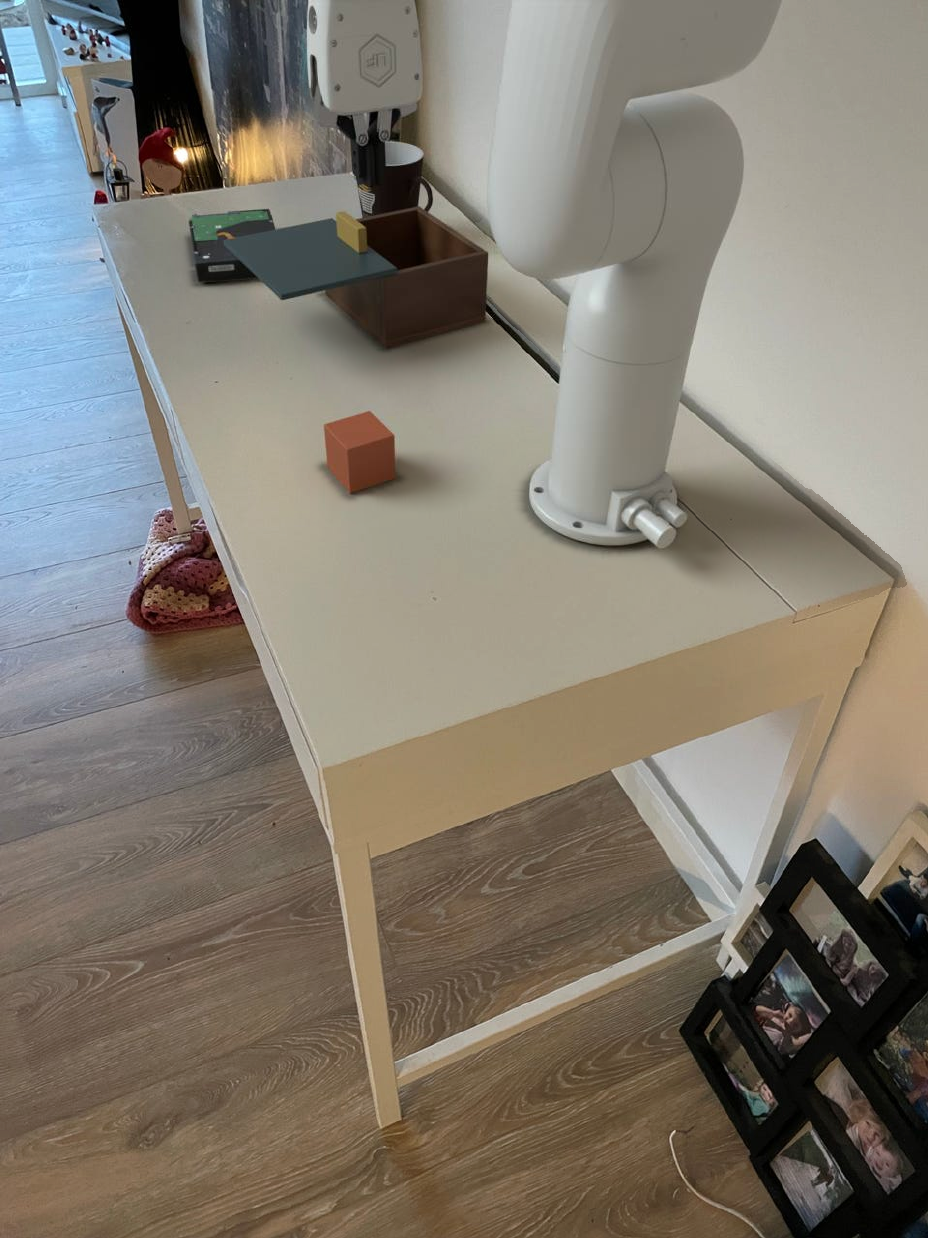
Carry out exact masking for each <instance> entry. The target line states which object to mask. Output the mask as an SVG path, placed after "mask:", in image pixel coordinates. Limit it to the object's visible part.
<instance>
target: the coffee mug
mask: <svg viewBox="0 0 928 1238" xmlns="http://www.w3.org/2000/svg"><path fill="white" fill-rule="evenodd" d="M424 156H425V154H424V151H423V150H422V149H421V148H420V147H418V146H416V145H414V144H410V143H406V142H401V141H386V142H385V157H386V172H385V173H384V185H383V186H377V185H375V186H374V187H373V188H368V187H366V186H364V185H363V184H361V183H360V182H358V181H357V180H356V179H355V180H356V185H357V186H356V187H357V193H358V199H359V205H360V210H361V212H360V213H361V218H365V217H369V216H374V215H379V214H384V213H389V212H394V211H399V210H404V209H409V208H413V207H418V206H419V203H420V193H421V185H422V187H424V189H425V192H426V194H427V203H426V205H425V207H424V208H423V209H424V210H425V211H427V212H428V213H429V212H430V210H431V208H432V206H433V203H434V197H433V196H434V195H433V189H432V186H431V185H430V184H429V182H428V181H427V180H426V179H425V178H423V176H422V174H423V166H424V165H423V164H424Z"/></svg>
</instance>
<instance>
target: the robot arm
mask: <svg viewBox="0 0 928 1238" xmlns="http://www.w3.org/2000/svg"><path fill="white" fill-rule="evenodd" d="M307 1H308V3H307V16H306V17H307V18H306V59H307V60H306V61H307V63H306V64H307V76H308V77H307V79H308V88H309V94H310V97H311V101H313V110H312V121H313V122H314V123H316V124H317V125H319V126H321V127H325V128H333V129H338V130H339V131H341V133H343V134H344V136H345V137H346V138H347V139H349V141H350V142H349V143H350V158H351V171H352V175H353V176H354V177H355V180H357V181H358V182H360V183H361V184H363V185H364V186H366V187H368V188H373V187H374V186H375V185H377V186H383V185H384V173H385V172H386V157H385V142H389V140H390V138H391V131H392V130H393V128H394V127H395V126H396V125H397V122H398V121H399V119H400V118H404V117H406V116H408V115H410V114H413V113H415V112H416V111H417V109H418V102H419V100H420V99H421V98H422V96H423V90H424V83H423V81H424V79H423V61H422V46H421V36H420V35H421V34H420V28H419V27H420V26H419V19H418V13H417V12H418V11H417V7H416V1H415V0H307ZM782 2H783V0H511V6H510V10H509V18H508V24H507V29H506V36H505V37H506V38H505V44H504V51H503V52H504V53H503V59H502V65H501V74H500V80H499V87H498V88H499V89H498V96H497V101H496V108H495V109H496V110H495V116H494V123H493V130H492V138H491V146H490V154H489V161H488V170H487V186H486V188H487V189H486V190H487V191H486V197H487V198H486V201H487V215H488V220H489V225H490V229H491V233H492V236H493V240H494V243H495V244H496V246H497V247H496V248H497V249H498V251H499V253H500V255H501V257H502V258H503V259H504V260H505V261H506V263H507V264H508V265H509V266H510V267H511V268H512V269H514V270H515V271H517V272H518V273H520V274H522V275H523V276H526V277H529V278H532V279H537V280H558V279H565V278H569V277H573V276H576V278H575V280H574V283H573V286H572V288H571V291H570V292H571V293H570V295H569V300H568V304H567V305H568V306H567V312H566V319H565V326H564V335H563V343H562V344H563V346H562V352H561V361H560V370H559V380H558V390H557V396H556V397H557V399H556V408H555V416H554V425H553V434H552V435H553V436H552V443H551V452H550V453H551V454H550V458H549V459H547V460H546V461H544V462H543V463H542V464H540V465H539V466H538V467H537V469H536V470H534V472H533V474H532V476H531V479H530V482H529V491H528V498H529V499H528V500H529V503H530V506H531V508H532V510H533V512H534V514H535V515H536V516H537V517H538V519H540V520H541V521H542V522H543V523H544V524H545V525H546V526H548V527H549V528H550V529H552V530H553V531H555V532H557V533H559V534H561V535H563V536H566V537H567V538H570V539H572V540H575V541H579V542H583V543H585V544H586V543H587V544H591V545H599V546H624V545H632V544H637V543H641V542H645V541H647V540H649V542H651V543H652V544H653V545H654V546H656V547H657V548H658V549H660V550H661V549H666V548H667V547H669V546H670V545H671V544H672V543H673V541H674V540H675V538H676V536H677V530H676V529H677V528H680V527H682V526H683V525H685V523H686V522H687V519H688V514H687V513H686V512H685V511H684V510H682V509H681V508H680V507H679V506H678V496H677V491H676V489H675V486H674V484H673V481H674V477H673V476H672V475H670V474H669V473H668V472H667V471H666V468H667V464H668V463H667V462H668V458H669V453H670V448H671V443H672V439H673V434H674V430H675V425H676V421H677V416H678V411H679V406H680V401H681V397H682V392H683V387H684V383H685V378H686V373H687V368H688V363H689V360H690V359H689V358H690V355H691V349H692V346H693V344H694V343H693V342H694V339H695V334H696V329H697V324H698V320H699V315H700V311H701V308H702V304H703V299H704V295H705V293H706V288H707V285H708V281H709V279H710V278H709V277H710V275H711V271H712V268H713V266H714V263H715V260H716V258H717V255H718V253H719V250H720V248H721V246H722V243H723V241H724V239H725V237H726V235H727V231H728V229H729V228H730V225H731V222H732V219H733V217H734V214H735V211H736V208H737V205H738V202H739V199H740V195H741V191H742V185H743V182H744V181H743V180H744V170H745V156H744V149H743V143H742V139H741V136H740V133H739V130H738V128H737V126H736V124H735V123H734V120H733V119H732V118H731V116H730V115H729V114H728V113H727V111H726V110H724V108H723V107H722V106H720V105H719V104H717V103H716V102H715V101H713V100H711V99H709V98H707V97H705V96H702V95H699V94H695V93H693V92H692V93H691V92H681V90H686V89H690V88H696V87H701V86H706V85H711V84H714V83H717V82H720V81H723V80H726V79H729V78H732V77H733V76H736V75H738V73H740V72H742V71H744V70H745V69H746V68H747V67H749V66H750V65H751V64H752V63H753V62H754V61H755V60H756V59H757V58H758V56H759V55H760V54H761V51H762V49H763V48H764V46H765V44H766V43H767V40H768V38H769V37H770V33H771V31H772V29H773V26H774V24H775V21H776V19H777V15H778V13H779V10H780V7H781V4H782ZM365 114H366V116H365ZM357 181H356V182H357ZM672 525H673V526H674V527H673V526H672Z"/></svg>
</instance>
